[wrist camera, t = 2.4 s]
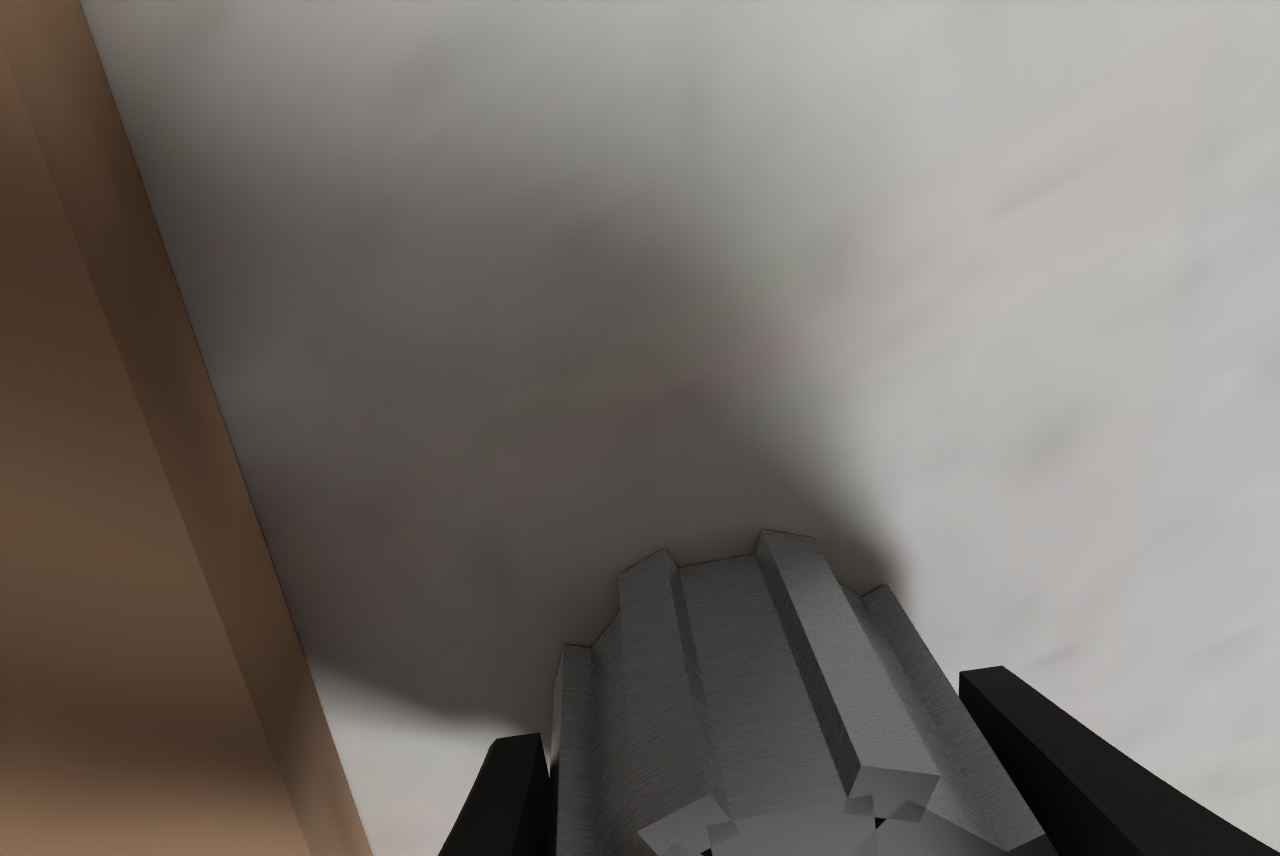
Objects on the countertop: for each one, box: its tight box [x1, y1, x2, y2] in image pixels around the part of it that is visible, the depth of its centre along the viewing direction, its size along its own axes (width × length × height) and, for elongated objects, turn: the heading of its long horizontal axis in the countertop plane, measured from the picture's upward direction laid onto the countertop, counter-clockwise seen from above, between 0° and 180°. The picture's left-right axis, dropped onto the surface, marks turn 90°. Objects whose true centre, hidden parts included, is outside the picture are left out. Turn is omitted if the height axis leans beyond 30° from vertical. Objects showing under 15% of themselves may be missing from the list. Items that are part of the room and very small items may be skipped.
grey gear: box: [546, 530, 1059, 856], centre depth 11 cm, size 6×6×4 cm
